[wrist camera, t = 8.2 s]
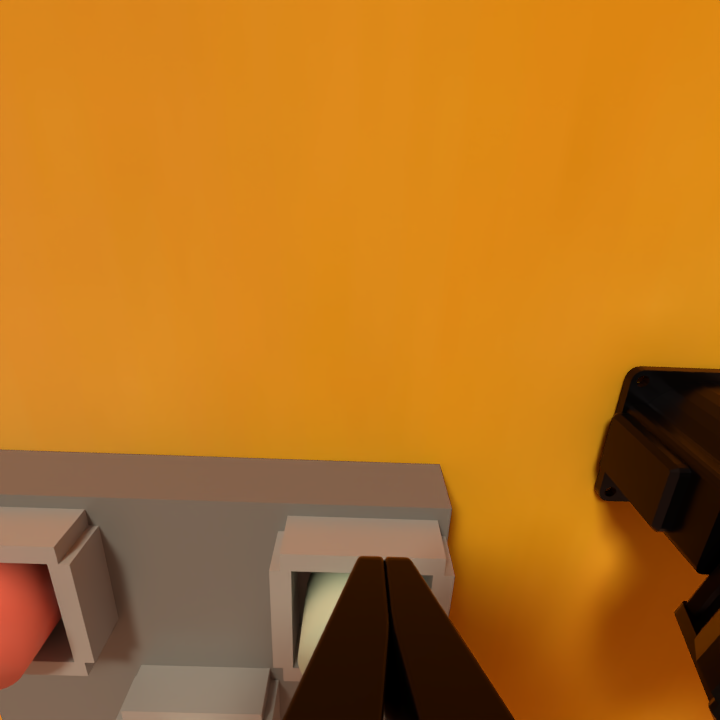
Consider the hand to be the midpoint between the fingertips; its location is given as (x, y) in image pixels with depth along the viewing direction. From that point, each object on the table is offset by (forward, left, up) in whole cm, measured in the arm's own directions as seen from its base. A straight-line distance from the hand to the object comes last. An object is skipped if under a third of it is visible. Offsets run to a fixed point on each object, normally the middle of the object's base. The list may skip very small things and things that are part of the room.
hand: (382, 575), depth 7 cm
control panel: (+7, +15, -12) cm, 20 cm away
